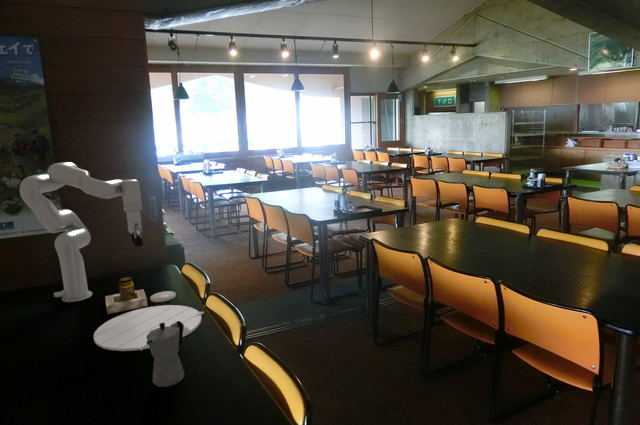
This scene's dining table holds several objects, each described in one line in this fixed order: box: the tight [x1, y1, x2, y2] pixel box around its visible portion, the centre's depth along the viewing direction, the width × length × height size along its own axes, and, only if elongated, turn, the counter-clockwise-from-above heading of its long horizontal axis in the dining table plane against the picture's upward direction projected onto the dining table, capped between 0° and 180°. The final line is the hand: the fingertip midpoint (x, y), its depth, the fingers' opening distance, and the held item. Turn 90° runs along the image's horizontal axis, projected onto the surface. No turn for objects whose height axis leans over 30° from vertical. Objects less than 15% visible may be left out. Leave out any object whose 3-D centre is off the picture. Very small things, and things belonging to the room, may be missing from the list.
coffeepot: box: [146, 321, 185, 388], centre depth 137 cm, size 15×9×18 cm, turn 159°
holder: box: [104, 288, 149, 315], centre depth 200 cm, size 16×14×4 cm
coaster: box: [149, 290, 177, 303], centre depth 207 cm, size 11×11×1 cm
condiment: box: [118, 276, 136, 301], centre depth 199 cm, size 7×8×12 cm
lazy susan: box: [93, 304, 205, 352], centre depth 176 cm, size 40×39×3 cm
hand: (137, 244), depth 206 cm, fingers open, 9 cm apart
